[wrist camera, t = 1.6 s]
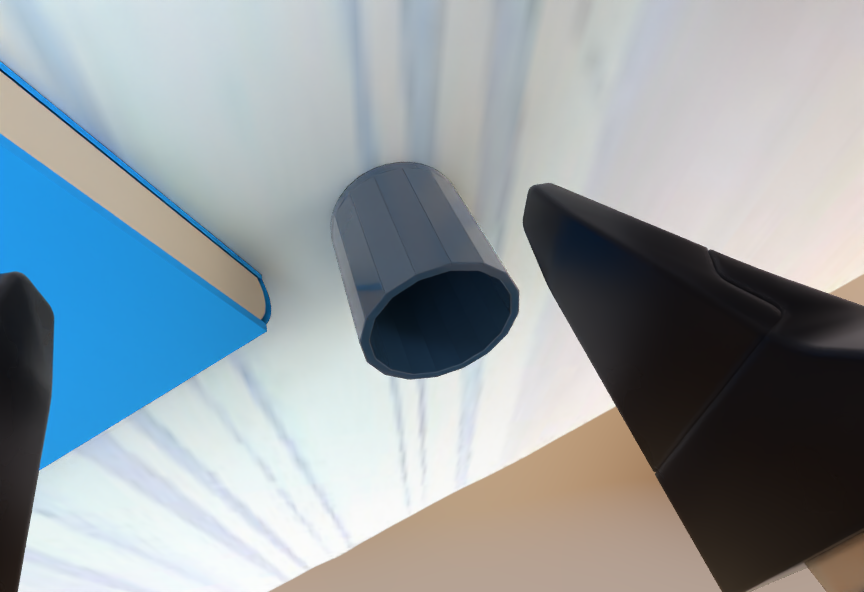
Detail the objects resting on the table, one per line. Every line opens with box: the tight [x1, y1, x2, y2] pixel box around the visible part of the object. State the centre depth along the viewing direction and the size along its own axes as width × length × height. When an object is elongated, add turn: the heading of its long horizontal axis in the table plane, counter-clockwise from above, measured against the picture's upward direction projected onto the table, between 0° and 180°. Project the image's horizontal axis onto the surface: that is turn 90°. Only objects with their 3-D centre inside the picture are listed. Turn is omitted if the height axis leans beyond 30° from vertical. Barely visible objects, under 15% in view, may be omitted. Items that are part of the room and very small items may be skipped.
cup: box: [331, 162, 519, 379], centre depth 22 cm, size 7×7×8 cm
